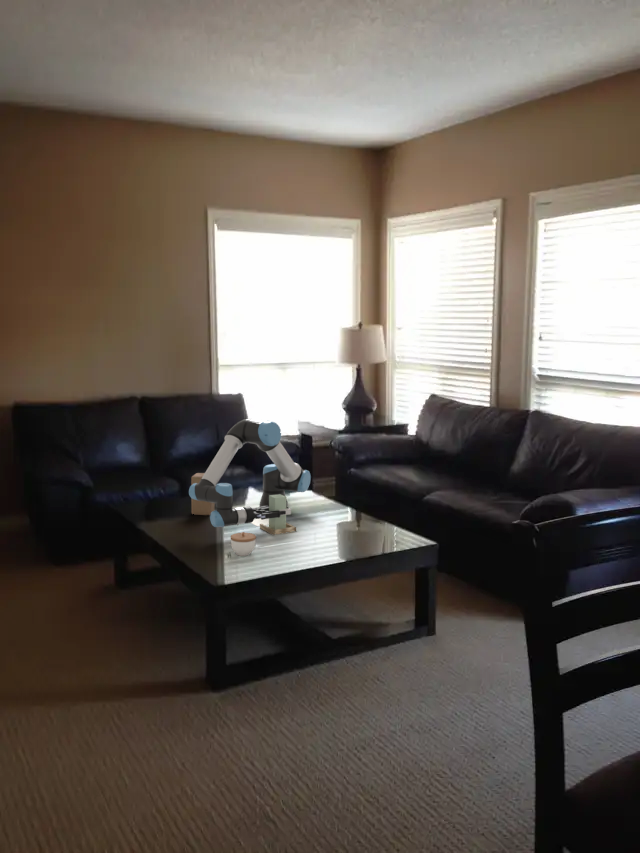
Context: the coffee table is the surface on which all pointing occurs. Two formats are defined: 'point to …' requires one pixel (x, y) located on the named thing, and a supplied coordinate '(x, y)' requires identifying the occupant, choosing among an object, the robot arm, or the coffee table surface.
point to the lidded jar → (243, 543)
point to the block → (200, 506)
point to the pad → (260, 522)
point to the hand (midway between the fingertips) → (286, 509)
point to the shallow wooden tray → (278, 531)
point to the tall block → (274, 505)
